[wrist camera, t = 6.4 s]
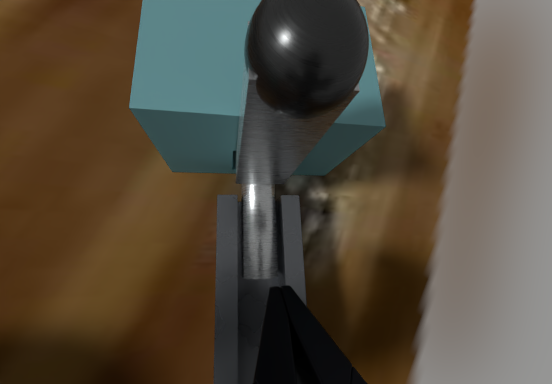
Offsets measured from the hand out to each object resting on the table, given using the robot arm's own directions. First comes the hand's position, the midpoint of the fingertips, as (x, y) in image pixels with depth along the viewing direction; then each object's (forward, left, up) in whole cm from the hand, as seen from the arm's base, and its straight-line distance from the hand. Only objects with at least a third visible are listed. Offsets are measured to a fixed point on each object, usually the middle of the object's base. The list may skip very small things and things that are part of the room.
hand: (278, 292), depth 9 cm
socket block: (+10, -6, -8) cm, 14 cm away
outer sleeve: (-1, 0, -8) cm, 8 cm away
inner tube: (+5, -3, -6) cm, 9 cm away
